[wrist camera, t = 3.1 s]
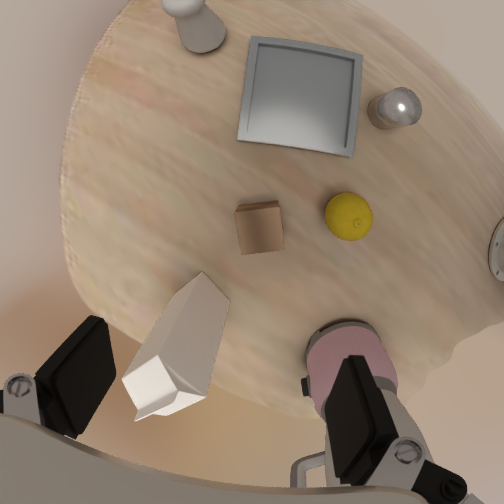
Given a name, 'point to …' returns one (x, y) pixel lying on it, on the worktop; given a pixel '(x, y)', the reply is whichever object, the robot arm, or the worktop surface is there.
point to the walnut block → (259, 227)
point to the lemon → (348, 216)
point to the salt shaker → (196, 24)
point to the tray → (301, 96)
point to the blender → (323, 377)
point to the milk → (179, 351)
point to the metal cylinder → (395, 109)
